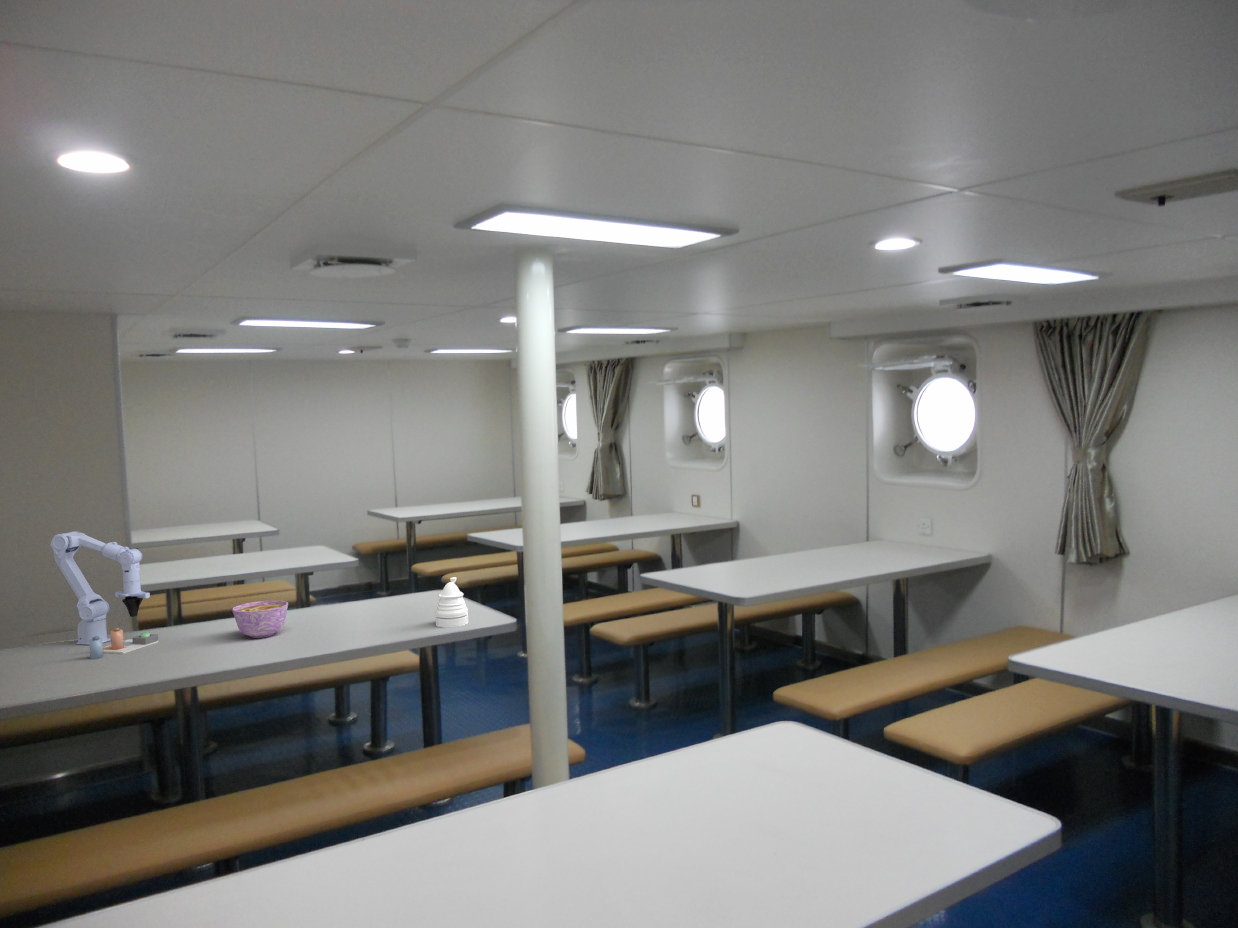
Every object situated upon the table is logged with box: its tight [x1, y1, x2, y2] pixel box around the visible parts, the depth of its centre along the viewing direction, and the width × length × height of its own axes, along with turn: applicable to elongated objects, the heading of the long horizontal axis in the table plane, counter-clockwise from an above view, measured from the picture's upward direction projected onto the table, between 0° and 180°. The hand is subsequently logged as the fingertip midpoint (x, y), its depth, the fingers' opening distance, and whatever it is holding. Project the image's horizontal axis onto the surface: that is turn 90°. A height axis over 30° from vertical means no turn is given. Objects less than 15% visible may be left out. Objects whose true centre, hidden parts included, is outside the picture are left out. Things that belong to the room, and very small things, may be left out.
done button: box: [140, 632, 151, 637], centre depth 314 cm, size 3×3×3 cm
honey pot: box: [434, 576, 469, 628], centre depth 330 cm, size 13×13×18 cm
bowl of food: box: [232, 600, 289, 639], centre depth 321 cm, size 20×20×12 cm
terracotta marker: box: [110, 627, 125, 650], centre depth 306 cm, size 4×4×8 cm
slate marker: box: [88, 636, 105, 660], centre depth 296 cm, size 4×4×8 cm
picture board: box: [103, 633, 160, 654], centre depth 310 cm, size 14×16×3 cm
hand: (133, 616), depth 318 cm, fingers closed
